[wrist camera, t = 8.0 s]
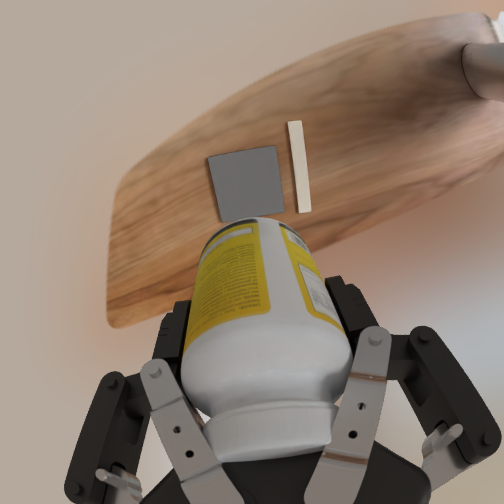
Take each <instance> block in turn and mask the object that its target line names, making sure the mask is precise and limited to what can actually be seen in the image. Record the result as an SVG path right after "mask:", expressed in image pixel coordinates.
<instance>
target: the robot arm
mask: <svg viewBox="0 0 504 504" xmlns="http://www.w3.org/2000/svg"><path fill="white" fill-rule="evenodd" d="M462 63H463V69H464V73H465V76H466V78H467V80H468V83H469V84H470V86H471V88H472V89H473V90H474V92H475V93H476V94H477V95H478V96H480V97H482V98H485V99H491V100H496V101H501V102H504V43H470V44H467V45H466V46H465V48H464V49H463V53H462ZM325 287H326V289H327V291H328V294H329V296H330V298H331V300H332V303H333V305H334V307H335V310H336V312H337V314H338V317H339V319H340V322H341V324H342V327H343V329H344V331H345V334H346V336H347V339H348V342H349V345H350V347H351V351H352V355H353V365H352V369H351V372H350V374H349V377H348V381H347V384H346V388H345V391H344V394H343V398H342V401H341V404H340V407H339V410H338V413H337V416H336V419H335V421H334V424H333V427H332V430H331V442H330V443H329V444H326V446H325V448H324V451H319V452H314V453H308V454H302V455H296V456H290V457H282V458H275V459H266V460H255V461H241V462H221V461H220V460H219V459H218V458H217V457H216V456H215V454H214V453H213V451H212V449H211V447H210V445H209V443H208V441H207V439H206V437H205V435H204V433H203V427H204V425H205V423H204V421H203V420H202V418H201V416H200V414H199V413H198V411H197V409H196V407H195V406H194V405H193V404H192V402H191V401H190V400H189V398H188V397H187V395H186V393H185V391H184V388H183V385H182V381H181V365H182V358H183V351H184V345H185V338H186V332H187V326H188V320H189V314H190V308H191V303H192V301H191V300H185V301H178V302H175V305H174V309H173V312H172V313H167V314H166V316H165V317H164V319H163V320H162V322H161V326H160V330H159V333H158V337H157V341H156V345H155V348H154V353H153V356H152V360H150V361H148V362H147V363H146V364H144V366H143V367H142V369H141V371H140V373H137V374H134V375H131V376H127V377H124V376H123V375H122V374H121V373H120V372H117V371H114V372H110V373H108V374H106V375H105V376H104V377H103V378H102V380H101V382H100V384H99V386H98V389H97V391H96V393H95V396H94V398H93V401H92V404H91V406H90V408H89V411H88V414H87V416H86V419H85V422H84V424H83V427H82V430H81V433H80V436H79V438H78V441H77V444H76V448H75V450H74V454H73V457H72V460H71V463H70V466H69V469H68V473H67V477H66V480H65V484H64V491H65V494H66V496H67V497H68V499H69V500H70V501H72V502H73V503H75V504H429V500H430V497H431V492H432V491H434V490H435V489H437V488H439V487H440V486H441V485H443V484H445V483H446V482H448V481H449V480H451V479H452V478H454V477H455V476H457V475H458V474H460V473H461V472H463V471H465V470H467V469H469V468H471V467H472V466H474V465H476V464H478V463H479V462H481V461H483V460H484V459H486V458H487V457H489V456H491V455H492V454H493V453H495V452H496V451H497V449H498V448H499V446H500V443H501V437H502V436H501V431H500V429H499V427H498V425H497V423H496V422H495V419H494V418H493V416H492V414H491V413H490V411H489V409H488V407H487V406H486V404H485V403H484V401H483V399H482V398H481V396H480V394H479V393H478V392H477V390H476V388H475V387H474V385H473V384H472V382H471V381H470V379H469V377H468V376H467V375H466V373H465V372H464V370H463V369H462V367H461V366H460V364H459V363H458V361H457V360H456V359H455V357H454V356H453V355H452V353H451V352H450V350H449V349H448V348H447V346H446V345H445V343H444V342H443V341H442V339H441V338H440V337H439V336H438V334H437V333H436V332H435V331H434V330H433V329H432V328H430V327H427V326H418V327H416V328H414V329H413V330H412V331H411V333H410V335H393V334H390V333H389V332H388V331H387V330H386V329H384V328H383V327H380V326H379V325H378V323H377V321H376V319H375V317H374V315H373V313H372V311H371V310H370V307H369V306H368V304H367V302H366V301H365V299H364V296H363V295H362V293H361V291H360V289H358V288H357V287H356V286H354V285H353V284H348V285H345V283H344V281H343V279H342V277H341V276H334V277H329V278H325ZM387 380H398V382H399V384H400V386H401V388H402V390H403V391H404V393H405V395H406V397H407V399H408V401H409V403H410V405H411V406H412V408H413V410H414V412H415V414H416V416H417V418H418V420H419V422H420V424H421V426H422V428H423V430H424V432H425V434H426V436H427V438H426V439H425V441H424V442H423V445H422V454H423V464H422V467H421V468H419V467H418V466H416V465H414V464H413V463H410V462H409V461H407V460H406V459H404V458H402V457H401V456H399V455H397V454H395V453H394V452H392V451H391V450H389V449H388V448H386V447H384V446H383V445H381V444H380V443H378V442H376V441H375V440H374V438H375V435H376V431H377V427H378V423H379V419H380V415H381V410H382V405H383V401H384V396H385V391H386V385H387ZM150 416H151V418H152V420H153V423H154V425H155V428H156V430H157V432H158V435H159V437H160V439H161V442H162V444H163V446H164V448H165V450H166V453H167V455H168V457H169V459H170V461H171V463H172V465H173V467H174V468H173V469H172V470H171V471H170V472H169V473H168V474H167V475H166V476H165V477H164V478H163V479H162V480H161V481H160V482H159V484H157V485H156V486H155V487H154V489H152V491H150V492H149V493H148V494H147V495H146V496H145V497H144V498H143V497H142V495H141V493H142V488H141V483H140V481H139V479H138V478H137V477H136V472H137V468H138V464H139V459H140V455H141V451H142V447H143V443H144V439H145V435H146V431H147V427H148V424H149V420H150Z"/></svg>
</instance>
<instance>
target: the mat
mask: <svg viewBox="0 0 504 504" xmlns="http://www.w3.org/2000/svg"><path fill="white" fill-rule="evenodd" d="M208 162H209V166H210V171H211V175H212V180H213V184H214V188H215V193H216V197H217V202H218V206H219V210H220V215H221V219H222V223H224V222H229V221H235V220H239V219H244V218H250V217H258V216H264V215H270V214H276V213H282V212H285V210H284V202H283V195H282V187H281V180H280V173H279V166H278V159H277V152H276V146H275V145H273V146H267V147H260V148H254V149H248V150H242V151H237V152H231V153H226V154H221V155H216V156H211V157H208Z"/></svg>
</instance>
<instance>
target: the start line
mask: <svg viewBox="0 0 504 504" xmlns="http://www.w3.org/2000/svg"><path fill="white" fill-rule="evenodd" d="M287 123H288V130H289V137H290V144H291V151H292V159H293V167H294V175H295V183H296V192H297V201H298V210H299V213H304V212H310V211H311V201H310V190H309V180H308V170H307V161H306V152H305V144H304V136H303V129H302V121H301V120H299V121H289V122H287Z"/></svg>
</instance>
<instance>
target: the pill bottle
mask: <svg viewBox="0 0 504 504" xmlns="http://www.w3.org/2000/svg"><path fill="white" fill-rule="evenodd" d="M352 365H353V355H352V351H351V347H350V345H349V342H348V339H347V336H346V334H345V331H344V329H343V327H342V324H341V322H340V319H339V317H338V314H337V312H336V310H335V307H334V305H333V303H332V300H331V298H330V296H329V294H328V291H327V289H326V287H325V285H324V282H323V280H322V278H321V276H320V273H319V271H318V269H317V267H316V264H315V262H314V260H313V258H312V255H311V253H310V251H309V249H308V247H307V245H306V244H305V242H304V240H303V239H302V238H301V237H300V235H299V234H298V233H297V232H296V231H295V230H293V229H292V228H291V227H289V226H288V225H286V224H284V223H282V222H279V221H277V220H274V219H270V218H263V217H250V218H244V219H239V220H236V221H234V222H231V223H229V224H227V225H225V226H224V227H222V228H221V229H219V230H218V231H217V232H216V233H214V234H213V236H212V237H211V238H210V239H209V240H208V242H207V243H206V245H205V247H204V249H203V251H202V254H201V257H200V261H199V266H198V271H197V276H196V281H195V286H194V292H193V297H192V303H191V308H190V314H189V320H188V326H187V332H186V338H185V345H184V351H183V358H182V365H181V381H182V385H183V388H184V391H185V393H186V395H187V397H188V398H189V400H190V401H191V402H192V404H193V405H194V406H195V407H196V408H198V410H200V411H201V412H202V413H204V414H205V415H207V416H209V417H210V418H211V419H210V420H209V421H208V422H206V424H205V425H204V427H203V433H204V435H205V437H206V439H207V441H208V443H209V445H210V447H211V449H212V451H213V453H214V454H215V456H216V457H217V458H218V459H219V460H220V461H221V462H241V461H255V460H266V459H275V458H282V457H290V456H296V455H302V454H308V453H314V452H319V451H324V448H325V446H326V444H329V443H330V442H331V430H332V427H333V424H334V421H335V419H336V416H337V413H338V410H339V407H338V406H336V405H334V403H335V402H336V401H337V400H338V399H339V398H340V396H341V395H342V394H343V393H344V391H345V388H346V384H347V381H348V377H349V374H350V372H351V369H352Z"/></svg>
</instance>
